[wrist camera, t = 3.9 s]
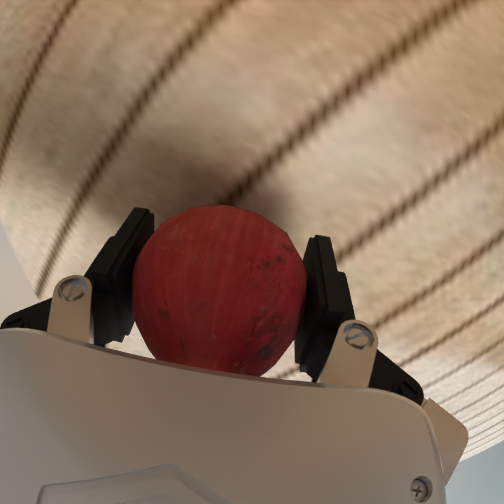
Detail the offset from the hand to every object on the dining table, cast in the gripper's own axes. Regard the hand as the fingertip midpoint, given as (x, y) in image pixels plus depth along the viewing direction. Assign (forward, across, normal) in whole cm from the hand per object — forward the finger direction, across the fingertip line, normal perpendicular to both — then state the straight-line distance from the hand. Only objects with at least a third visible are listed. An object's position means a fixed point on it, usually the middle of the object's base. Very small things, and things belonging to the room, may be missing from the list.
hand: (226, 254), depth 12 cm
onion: (+2, 0, 0) cm, 2 cm away
